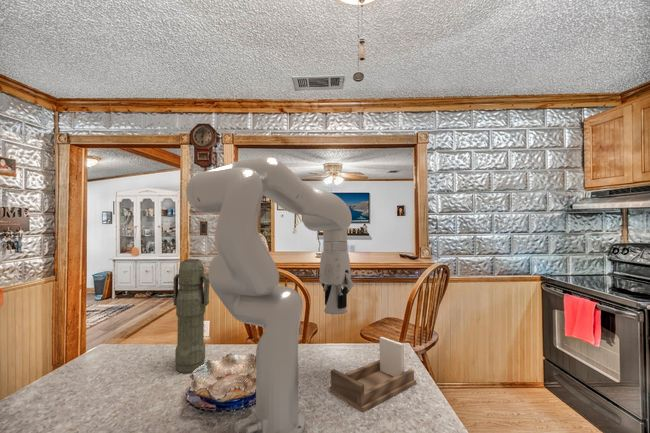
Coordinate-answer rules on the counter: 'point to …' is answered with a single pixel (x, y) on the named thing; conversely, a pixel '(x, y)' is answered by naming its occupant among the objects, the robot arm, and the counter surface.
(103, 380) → the counter surface
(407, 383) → the wooden crate tray
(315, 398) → the counter surface
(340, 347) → the counter surface
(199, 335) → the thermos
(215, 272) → the robot arm
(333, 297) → the flask
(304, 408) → the counter surface
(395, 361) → the rectangular block
